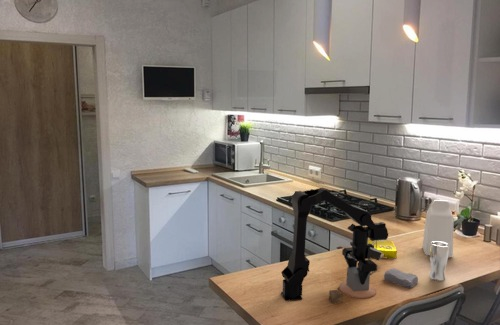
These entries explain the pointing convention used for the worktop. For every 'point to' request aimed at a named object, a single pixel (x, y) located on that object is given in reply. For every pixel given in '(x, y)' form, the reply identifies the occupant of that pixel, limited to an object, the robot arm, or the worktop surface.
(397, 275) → the stone block
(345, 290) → the peach round platter
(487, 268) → the worktop surface
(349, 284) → the matte slate cube
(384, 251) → the element tile
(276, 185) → the worktop surface
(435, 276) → the beer glass
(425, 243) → the milk
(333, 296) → the walnut block
